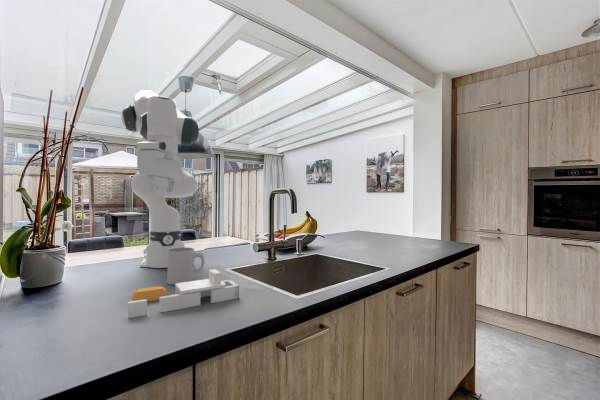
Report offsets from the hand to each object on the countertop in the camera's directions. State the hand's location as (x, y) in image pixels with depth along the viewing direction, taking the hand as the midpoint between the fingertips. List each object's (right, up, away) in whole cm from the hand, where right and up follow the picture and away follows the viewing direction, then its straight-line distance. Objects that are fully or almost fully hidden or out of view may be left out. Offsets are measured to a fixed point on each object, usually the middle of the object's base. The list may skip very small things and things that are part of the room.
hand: (162, 192), depth 96 cm
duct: (+12, -31, -12) cm, 35 cm away
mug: (+4, -30, +9) cm, 32 cm away
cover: (+15, -27, -10) cm, 32 cm away
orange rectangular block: (+1, -31, -10) cm, 32 cm away
